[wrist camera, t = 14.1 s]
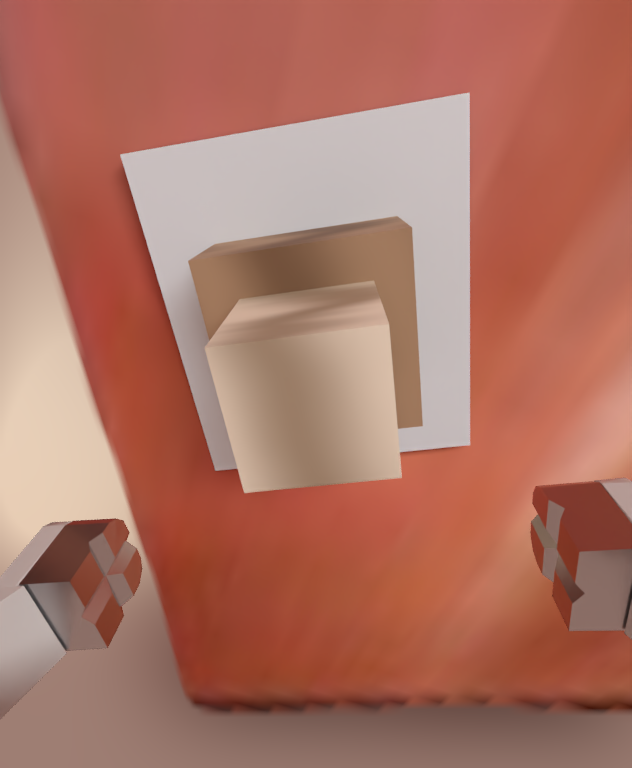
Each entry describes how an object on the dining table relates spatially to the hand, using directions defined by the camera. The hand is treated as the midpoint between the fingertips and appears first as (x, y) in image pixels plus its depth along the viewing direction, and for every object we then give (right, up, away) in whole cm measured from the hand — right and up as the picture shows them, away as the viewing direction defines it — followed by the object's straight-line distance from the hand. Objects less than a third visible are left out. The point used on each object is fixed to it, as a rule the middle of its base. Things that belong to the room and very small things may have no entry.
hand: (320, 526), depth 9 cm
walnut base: (0, +6, +13) cm, 14 cm away
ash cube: (0, +4, +9) cm, 9 cm away
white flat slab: (0, +6, +13) cm, 14 cm away
